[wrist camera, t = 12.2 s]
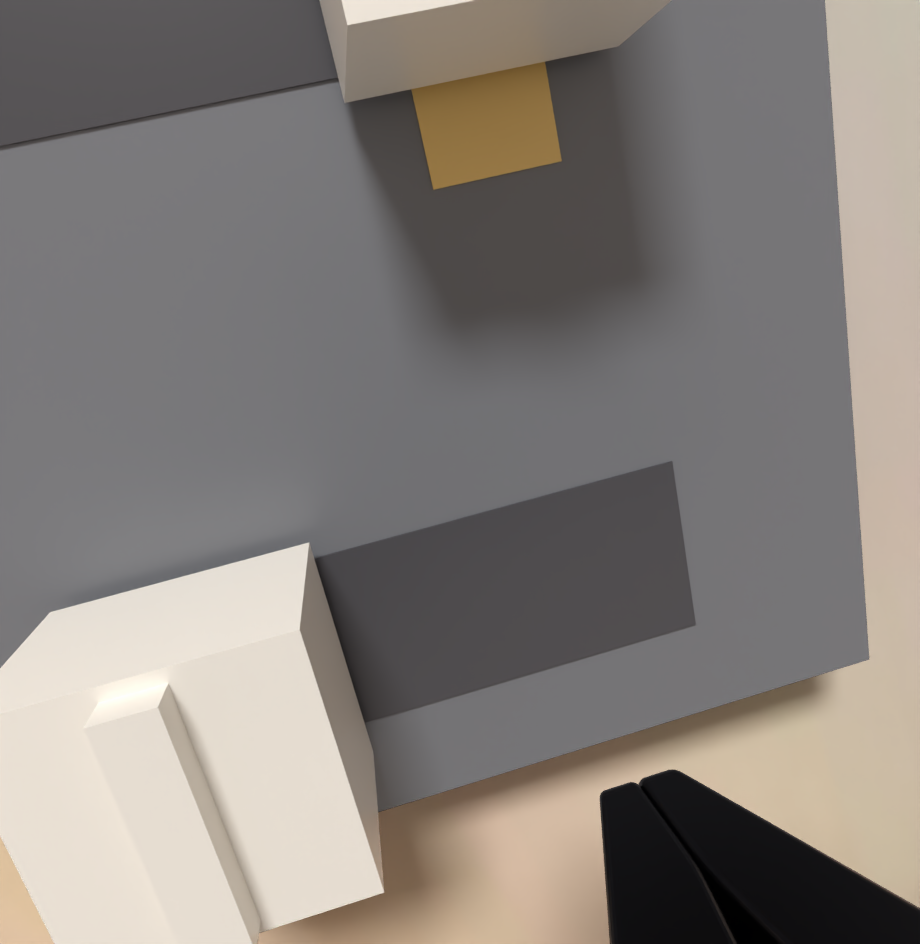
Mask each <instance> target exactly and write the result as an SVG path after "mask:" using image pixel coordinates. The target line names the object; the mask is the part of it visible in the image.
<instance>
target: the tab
mask: <svg viewBox="0 0 920 944" xmlns="http://www.w3.org/2000/svg"><path fill="white" fill-rule="evenodd" d="M0 837H1V839H2V841H3V843H4V845H5V846H6V848H7V850H8V852H9V854H10V856H11V858H12V860H13V862H14V864H15V866H16V868H17V870H18V872H19V874H20V876H21V878H22V880H23V882H24V884H25V886H26V888H27V890H28V892H29V894H30V896H31V898H32V900H33V902H34V904H35V906H36V908H37V910H38V912H39V914H40V916H41V918H42V920H43V922H44V924H45V926H46V928H47V930H48V932H49V934H50V936H51V938H52V940H53V942H54V944H258V937H259V933H261V932H264V931H267V930H270V929H273V928H276V927H279V926H282V925H286V924H289V923H292V922H295V921H298V920H301V919H304V918H307V917H310V916H313V915H316V914H320V913H323V912H326V911H329V910H332V909H335V908H338V907H341V906H344V905H347V904H351V903H354V902H357V901H360V900H363V899H366V898H369V897H372V896H375V895H378V894H381V893H384V882H383V869H382V856H381V844H380V831H379V818H378V805H377V792H376V780H375V767H374V754H373V749H372V746H371V743H370V739H369V736H368V733H367V730H366V726H365V723H364V720H363V717H362V713H361V710H360V707H359V703H358V700H357V697H356V694H355V690H354V687H353V684H352V681H351V677H350V674H349V671H348V667H347V664H346V661H345V658H344V654H343V651H342V648H341V645H340V641H339V638H338V635H337V632H336V628H335V625H334V622H333V618H332V615H331V612H330V609H329V605H328V602H327V599H326V596H325V592H324V589H323V586H322V582H321V579H320V576H319V573H318V569H317V566H316V563H315V560H314V556H313V553H312V550H311V546H310V543H305V544H301V545H298V546H294V547H290V548H287V549H283V550H279V551H275V552H272V553H268V554H264V555H261V556H257V557H253V558H249V559H246V560H242V561H238V562H235V563H231V564H227V565H223V566H220V567H216V568H212V569H209V570H205V571H201V572H197V573H194V574H190V575H186V576H183V577H179V578H175V579H171V580H168V581H164V582H160V583H157V584H153V585H149V586H145V587H142V588H138V589H134V590H131V591H127V592H123V593H119V594H116V595H112V596H108V597H105V598H101V599H97V600H93V601H90V602H86V603H82V604H79V605H75V606H71V607H67V608H64V609H60V610H56V611H53V612H50V613H49V614H48V615H47V616H46V617H45V619H44V620H43V621H42V622H41V623H40V624H39V625H38V626H37V628H36V629H35V630H34V631H33V632H32V633H31V634H30V635H29V637H28V638H27V639H26V640H25V641H24V642H23V643H22V644H21V646H20V647H19V648H18V649H17V650H16V651H15V652H14V653H13V655H12V656H11V657H10V658H9V659H8V660H7V661H6V662H5V664H4V665H3V666H2V667H1V668H0Z"/></svg>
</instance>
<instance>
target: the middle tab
mask: <svg viewBox="0 0 920 944" xmlns="http://www.w3.org/2000/svg"><path fill="white" fill-rule="evenodd" d="M319 1H320V5H321V9H322V13H323V17H324V21H325V26H326V30H327V34H328V38H329V42H330V46H331V50H332V54H333V58H334V62H335V66H336V71H337V75H338V79H339V83H340V87H341V91H342V95H343V99H344V103H347V102H352V101H357V100H362V99H366V98H371V97H376V96H381V95H386V94H391V93H395V92H400V91H405V90H410V89H415V88H420V87H424V86H429V85H434V84H439V83H444V82H449V81H453V80H458V79H463V78H468V77H473V76H478V75H483V74H487V73H492V72H497V71H502V70H507V69H512V68H516V67H521V66H526V65H531V64H536V63H541V62H545V61H550V60H555V59H560V58H565V57H570V56H574V55H579V54H584V53H589V52H594V51H599V50H603V49H608V48H613V47H618V46H619V45H621V44H622V43H623V42H624V41H625V40H626V39H628V38H629V37H630V36H631V35H632V34H633V33H634V32H636V31H637V30H638V29H639V28H640V27H641V26H643V25H644V24H645V23H646V22H647V21H648V20H650V19H651V18H652V17H653V16H654V15H655V14H656V13H658V12H659V11H660V10H661V9H662V8H663V7H665V6H666V5H667V4H668V3H669V2H670V1H671V0H319Z"/></svg>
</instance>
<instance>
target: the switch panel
mask: <svg viewBox="0 0 920 944" xmlns="http://www.w3.org/2000/svg"><path fill="white" fill-rule="evenodd" d="M305 543H310V546H311V550H312V553H313V556H314V560H315V563H316V566H317V569H318V573H319V576H320V579H321V582H322V586H323V589H324V592H325V596H326V599H327V602H328V605H329V609H330V612H331V615H332V618H333V622H334V625H335V628H336V632H337V635H338V638H339V641H340V645H341V648H342V651H343V654H344V658H345V661H346V664H347V667H348V671H349V674H350V677H351V681H352V684H353V687H354V690H355V694H356V697H357V700H358V703H359V707H360V710H361V713H362V717H363V720H364V723H365V726H366V730H367V733H368V736H369V739H370V743H371V746H372V749H373V754H374V767H375V780H376V792H377V805H378V812H380V811H384V810H387V809H390V808H393V807H397V806H400V805H403V804H406V803H409V802H413V801H416V800H419V799H422V798H425V797H429V796H432V795H435V794H438V793H441V792H445V791H448V790H451V789H454V788H458V787H461V786H464V785H467V784H470V783H474V782H477V781H480V780H483V779H486V778H490V777H493V776H496V775H499V774H503V773H506V772H509V771H512V770H515V769H519V768H522V767H525V766H528V765H531V764H535V763H538V762H541V761H544V760H548V759H551V758H554V757H557V756H560V755H564V754H567V753H570V752H573V751H576V750H580V749H583V748H586V747H589V746H593V745H596V744H599V743H602V742H605V741H609V740H612V739H615V738H618V737H621V736H625V735H628V734H631V733H634V732H637V731H641V730H644V729H647V728H650V727H654V726H657V725H660V724H663V723H666V722H670V721H673V720H676V719H679V718H682V717H686V716H689V715H692V714H695V713H699V712H702V711H705V710H708V709H711V708H715V707H718V706H721V705H724V704H727V703H731V702H734V701H737V700H740V699H744V698H747V697H750V696H753V695H756V694H760V693H763V692H766V691H769V690H772V689H776V688H779V687H782V686H785V685H788V684H792V683H795V682H798V681H801V680H805V679H808V678H811V677H814V676H817V675H821V674H824V673H827V672H830V671H833V670H837V669H840V668H843V667H846V666H850V665H853V664H856V663H859V662H862V661H866V660H869V649H868V634H867V619H866V604H865V590H864V575H863V560H862V545H861V530H860V516H859V501H858V486H857V471H856V456H855V442H854V427H853V412H852V397H851V382H850V368H849V353H848V338H847V323H846V308H845V293H844V279H843V264H842V249H841V234H840V219H839V205H838V190H837V175H836V160H835V145H834V131H833V116H832V101H831V86H830V71H829V57H828V42H827V27H826V12H825V0H671V1H670V2H669V3H668V4H667V5H666V6H665V7H663V8H662V9H661V10H660V11H659V12H658V13H656V14H655V15H654V16H653V17H652V18H651V19H650V20H648V21H647V22H646V23H645V24H644V25H643V26H641V27H640V28H639V29H638V30H637V31H636V32H634V33H633V34H632V35H631V36H630V37H629V38H628V39H626V40H625V41H624V42H623V43H622V44H621V45H619V46H618V47H613V48H608V49H603V50H599V51H594V52H589V53H584V54H579V55H574V56H570V57H565V58H560V59H555V60H550V61H545V62H541V63H536V64H531V65H526V66H521V67H516V68H512V69H507V70H502V71H497V72H492V73H487V74H483V75H478V76H473V77H468V78H463V79H458V80H453V81H449V82H444V83H439V84H434V85H429V86H424V87H420V88H415V89H410V90H405V91H400V92H395V93H391V94H386V95H381V96H376V97H371V98H366V99H362V100H357V101H352V102H347V103H344V99H343V95H342V91H341V87H340V83H339V79H338V75H337V71H336V66H335V62H334V58H333V54H332V50H331V46H330V42H329V38H328V34H327V30H326V26H325V21H324V17H323V13H322V9H321V5H320V1H319V0H0V668H1V667H2V666H3V665H4V664H5V662H6V661H7V660H8V659H9V658H10V657H11V656H12V655H13V653H14V652H15V651H16V650H17V649H18V648H19V647H20V646H21V644H22V643H23V642H24V641H25V640H26V639H27V638H28V637H29V635H30V634H31V633H32V632H33V631H34V630H35V629H36V628H37V626H38V625H39V624H40V623H41V622H42V621H43V620H44V619H45V617H46V616H47V615H48V614H49V613H50V612H53V611H56V610H60V609H64V608H67V607H71V606H75V605H79V604H82V603H86V602H90V601H93V600H97V599H101V598H105V597H108V596H112V595H116V594H119V593H123V592H127V591H131V590H134V589H138V588H142V587H145V586H149V585H153V584H157V583H160V582H164V581H168V580H171V579H175V578H179V577H183V576H186V575H190V574H194V573H197V572H201V571H205V570H209V569H212V568H216V567H220V566H223V565H227V564H231V563H235V562H238V561H242V560H246V559H249V558H253V557H257V556H261V555H264V554H268V553H272V552H275V551H279V550H283V549H287V548H290V547H294V546H298V545H301V544H305Z"/></svg>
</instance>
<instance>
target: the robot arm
mask: <svg viewBox="0 0 920 944" xmlns="http://www.w3.org/2000/svg"><path fill="white" fill-rule="evenodd" d="M600 810H601V824H602V838H603V853H604V867H605V881H606V896H607V910H608V924H609V938H610V944H920V908H919V907H917V906H915V905H913V904H912V903H910V902H908V901H906V900H905V899H903V898H901V897H899V896H898V895H896V894H894V893H892V892H891V891H889V890H887V889H885V888H884V887H882V886H880V885H878V884H876V883H875V882H873V881H871V880H869V879H868V878H866V877H864V876H862V875H861V874H859V873H857V872H855V871H854V870H852V869H850V868H848V867H847V866H845V865H843V864H841V863H840V862H838V861H836V860H834V859H833V858H831V857H829V856H827V855H826V854H824V853H822V852H820V851H819V850H817V849H815V848H813V847H812V846H810V845H808V844H806V843H805V842H803V841H801V840H799V839H798V838H796V837H794V836H792V835H791V834H789V833H787V832H785V831H784V830H782V829H780V828H778V827H777V826H775V825H773V824H771V823H770V822H768V821H766V820H764V819H763V818H761V817H759V816H757V815H756V814H754V813H752V812H750V811H749V810H747V809H745V808H743V807H742V806H740V805H738V804H736V803H735V802H733V801H731V800H729V799H728V798H726V797H724V796H722V795H721V794H719V793H717V792H715V791H714V790H712V789H710V788H708V787H706V786H705V785H703V784H701V783H699V782H698V781H696V780H694V779H692V778H691V777H689V776H687V775H685V774H684V773H682V772H680V771H677V770H667V771H664V772H661V773H658V774H655V775H651V776H648V777H645V778H643V779H642V780H641V781H640V782H639V785H638V784H636V783H633V782H630V783H626V784H623V785H620V786H617V787H614V788H611V789H608V790H605V791H603V792H602V793H601V795H600Z"/></svg>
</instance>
